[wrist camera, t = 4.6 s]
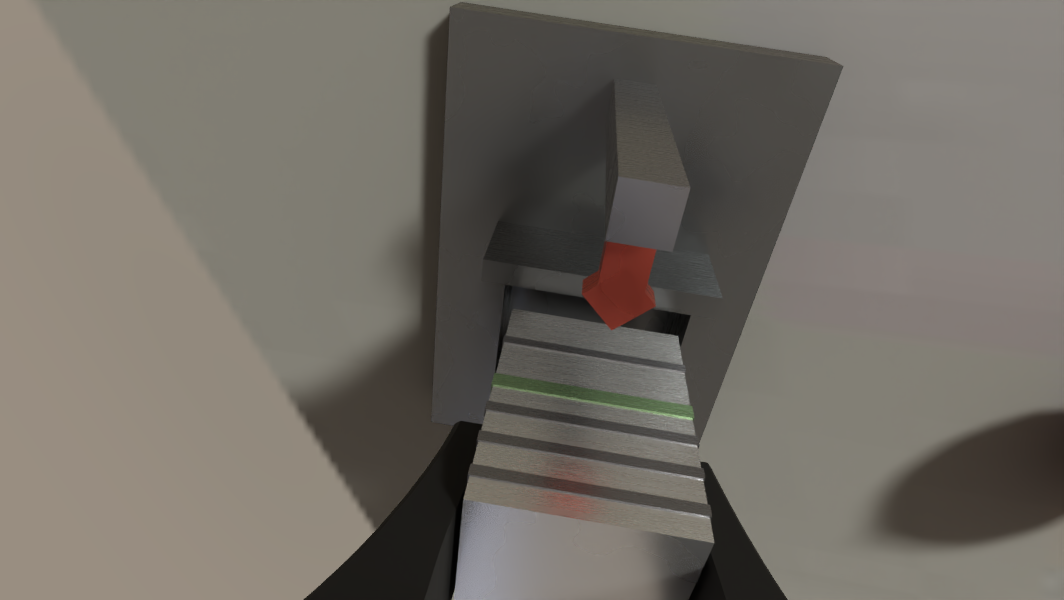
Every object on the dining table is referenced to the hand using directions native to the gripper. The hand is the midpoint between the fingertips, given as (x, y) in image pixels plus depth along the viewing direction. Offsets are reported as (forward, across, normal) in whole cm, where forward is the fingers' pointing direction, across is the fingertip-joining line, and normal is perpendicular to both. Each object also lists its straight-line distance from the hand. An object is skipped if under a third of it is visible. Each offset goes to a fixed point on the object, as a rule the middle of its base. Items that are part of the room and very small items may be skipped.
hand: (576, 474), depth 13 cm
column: (+3, 0, 0) cm, 3 cm away
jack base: (+7, 0, -2) cm, 7 cm away
